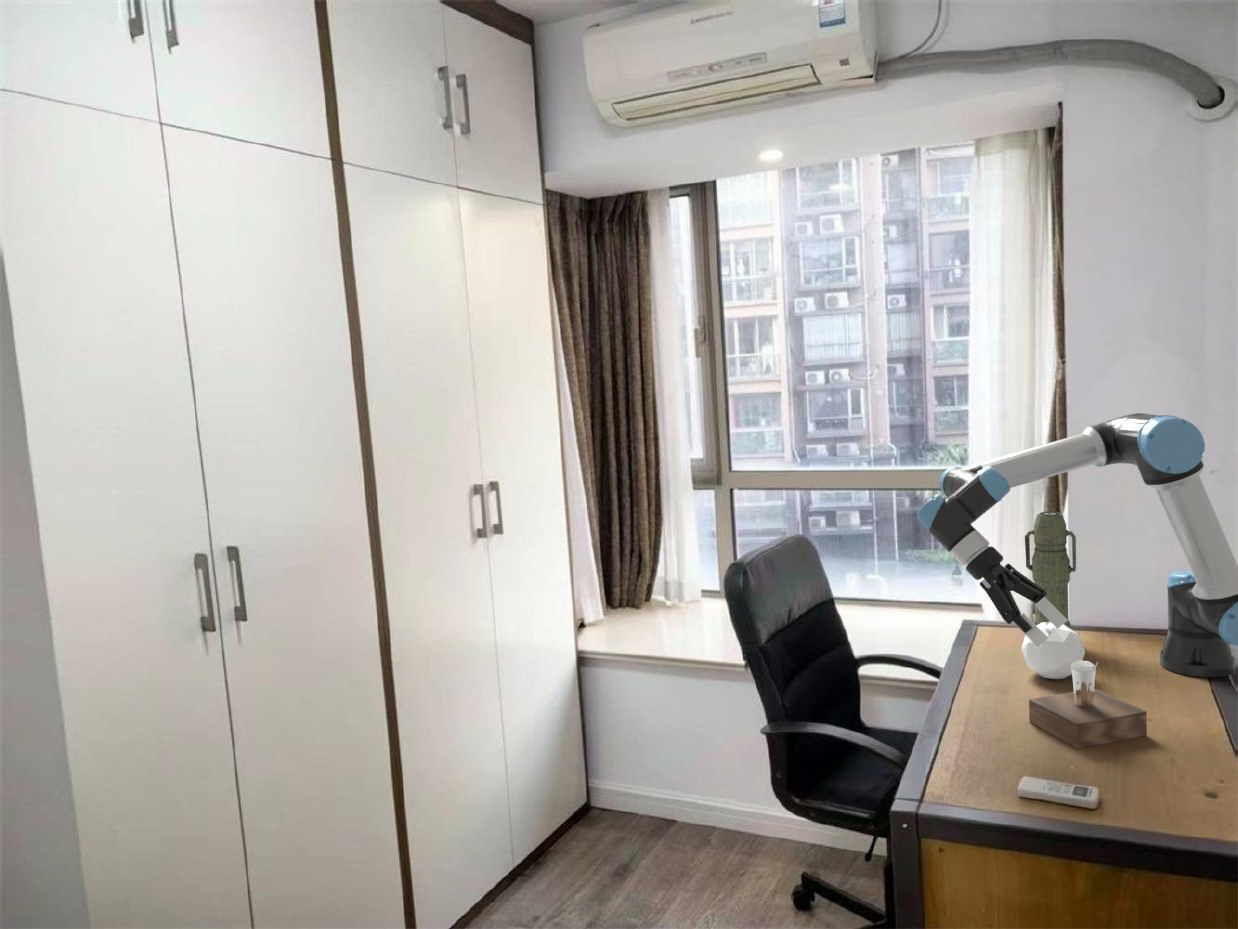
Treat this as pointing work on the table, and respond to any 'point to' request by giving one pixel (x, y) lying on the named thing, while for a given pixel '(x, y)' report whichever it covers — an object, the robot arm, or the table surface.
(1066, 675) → the geodesic sphere
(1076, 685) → the milkshake
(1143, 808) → the table surface
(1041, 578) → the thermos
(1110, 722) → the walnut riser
